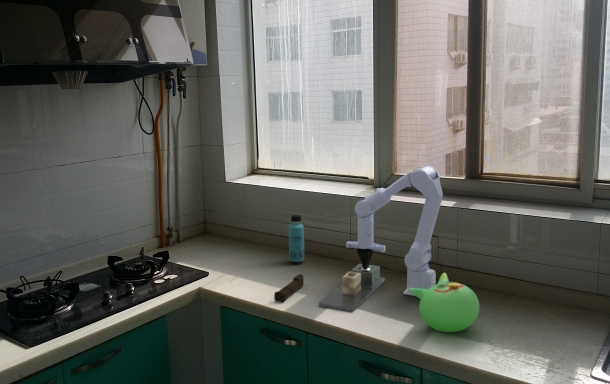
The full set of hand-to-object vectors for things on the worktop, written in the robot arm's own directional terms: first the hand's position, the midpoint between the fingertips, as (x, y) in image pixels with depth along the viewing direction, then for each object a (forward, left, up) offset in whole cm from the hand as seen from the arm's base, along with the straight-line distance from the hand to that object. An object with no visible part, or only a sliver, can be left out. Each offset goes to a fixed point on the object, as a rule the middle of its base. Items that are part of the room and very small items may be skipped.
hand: (365, 268), depth 205 cm
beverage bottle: (+34, -10, -6) cm, 36 cm away
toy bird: (-36, +26, -6) cm, 45 cm away
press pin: (0, 0, -4) cm, 4 cm away
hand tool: (+21, +20, -6) cm, 29 cm away
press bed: (0, +12, -5) cm, 13 cm away
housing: (0, +13, -4) cm, 14 cm away
